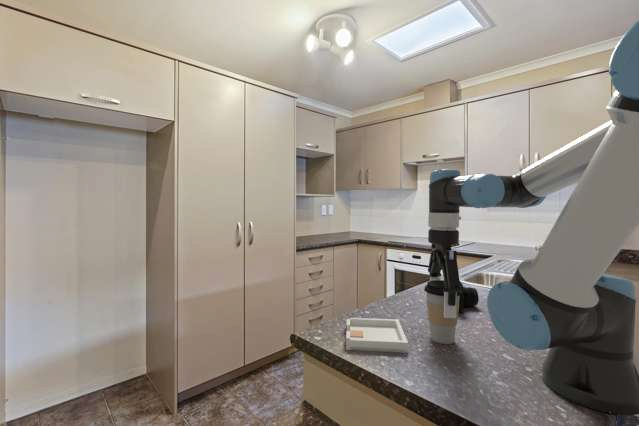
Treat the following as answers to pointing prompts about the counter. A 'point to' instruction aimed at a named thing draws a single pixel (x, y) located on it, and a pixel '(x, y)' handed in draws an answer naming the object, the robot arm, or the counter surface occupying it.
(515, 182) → the robot arm
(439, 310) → the coffee cup
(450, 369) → the counter surface
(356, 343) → the tray
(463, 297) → the camera
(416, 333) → the counter surface
